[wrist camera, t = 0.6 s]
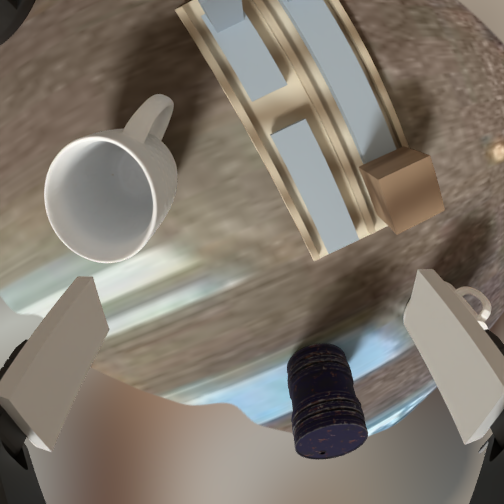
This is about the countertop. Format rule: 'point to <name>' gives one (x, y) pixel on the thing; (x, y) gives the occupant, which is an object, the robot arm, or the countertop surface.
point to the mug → (114, 186)
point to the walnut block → (403, 188)
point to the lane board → (299, 109)
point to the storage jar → (324, 403)
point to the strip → (342, 76)
